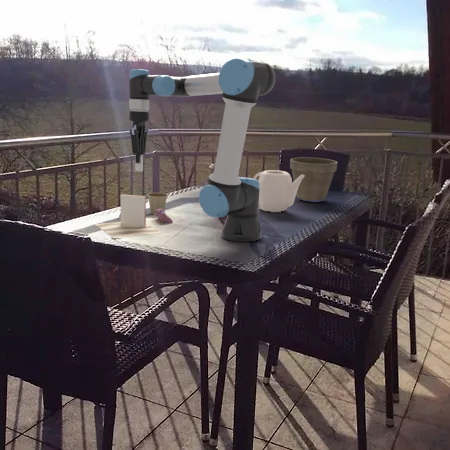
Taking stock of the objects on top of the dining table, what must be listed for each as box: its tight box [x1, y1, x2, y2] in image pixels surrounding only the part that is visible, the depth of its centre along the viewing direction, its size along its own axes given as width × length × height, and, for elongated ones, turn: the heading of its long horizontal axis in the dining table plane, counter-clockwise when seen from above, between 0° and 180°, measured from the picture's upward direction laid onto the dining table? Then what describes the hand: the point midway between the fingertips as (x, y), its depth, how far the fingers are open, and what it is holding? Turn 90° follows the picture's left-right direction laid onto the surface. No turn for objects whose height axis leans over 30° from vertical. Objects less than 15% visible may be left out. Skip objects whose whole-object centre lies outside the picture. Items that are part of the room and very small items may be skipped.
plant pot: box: [289, 157, 338, 200], centre depth 273 cm, size 25×25×22 cm
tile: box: [120, 193, 147, 227], centre depth 202 cm, size 10×2×12 cm, turn 77°
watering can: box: [252, 169, 305, 213], centre depth 243 cm, size 16×27×19 cm, turn 62°
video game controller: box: [154, 209, 174, 224], centre depth 213 cm, size 10×5×7 cm, turn 21°
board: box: [94, 221, 162, 241], centre depth 198 cm, size 22×19×1 cm
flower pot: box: [146, 192, 169, 216], centre depth 228 cm, size 9×9×9 cm
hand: (138, 170), depth 204 cm, fingers closed
